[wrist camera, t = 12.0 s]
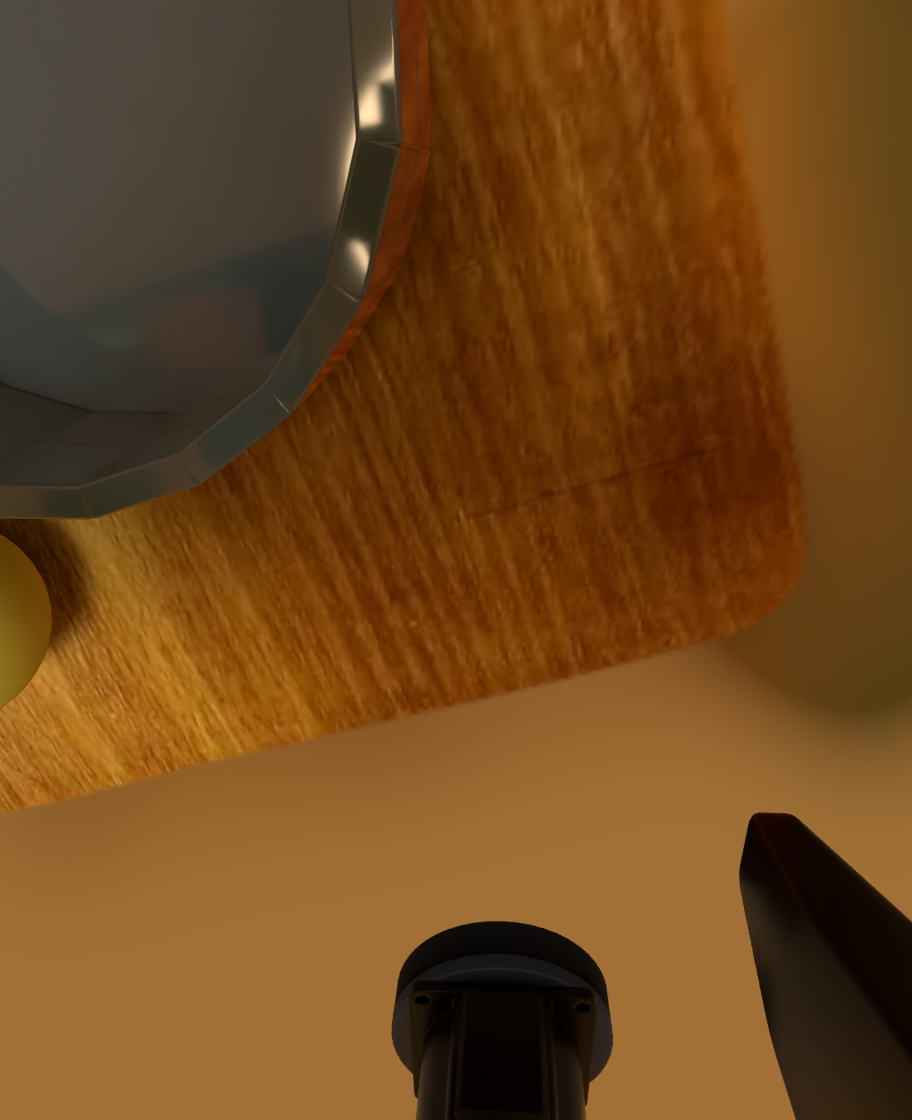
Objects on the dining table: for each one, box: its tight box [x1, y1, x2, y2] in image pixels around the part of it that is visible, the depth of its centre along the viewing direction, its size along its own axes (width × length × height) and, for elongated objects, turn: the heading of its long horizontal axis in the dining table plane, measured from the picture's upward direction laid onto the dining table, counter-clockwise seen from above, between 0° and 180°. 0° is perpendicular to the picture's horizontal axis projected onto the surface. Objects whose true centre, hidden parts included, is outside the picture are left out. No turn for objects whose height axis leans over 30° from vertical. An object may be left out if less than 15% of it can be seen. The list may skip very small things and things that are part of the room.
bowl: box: [0, 0, 432, 519], centre depth 14 cm, size 14×14×6 cm
